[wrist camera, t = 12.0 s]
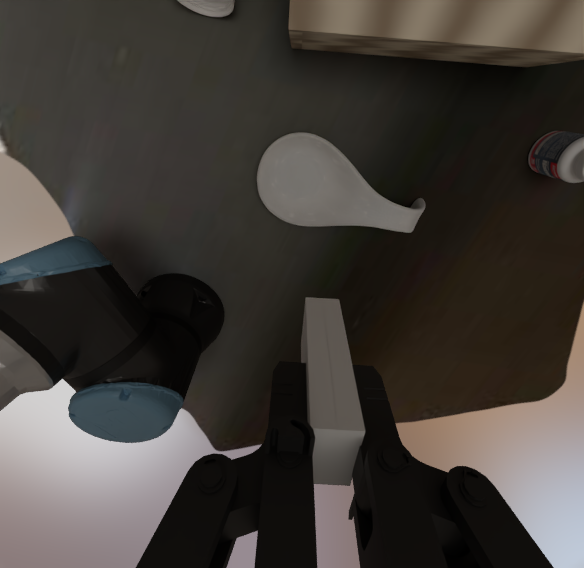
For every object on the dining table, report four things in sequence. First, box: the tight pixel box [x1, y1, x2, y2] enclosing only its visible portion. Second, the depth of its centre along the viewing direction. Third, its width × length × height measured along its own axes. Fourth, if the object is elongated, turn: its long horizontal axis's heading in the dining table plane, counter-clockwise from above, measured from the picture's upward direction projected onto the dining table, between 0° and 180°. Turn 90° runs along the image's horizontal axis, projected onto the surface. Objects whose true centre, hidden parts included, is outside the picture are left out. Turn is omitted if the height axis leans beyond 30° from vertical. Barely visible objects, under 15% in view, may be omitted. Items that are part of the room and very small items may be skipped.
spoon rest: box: [257, 132, 425, 233], centre depth 43 cm, size 24×12×7 cm, turn 74°
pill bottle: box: [528, 131, 584, 183], centre depth 39 cm, size 5×5×9 cm
